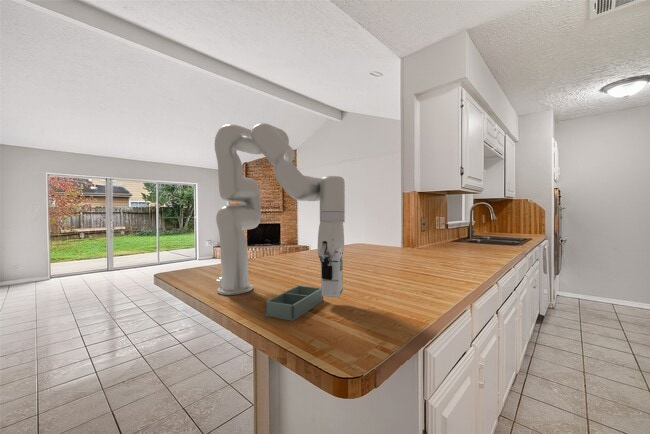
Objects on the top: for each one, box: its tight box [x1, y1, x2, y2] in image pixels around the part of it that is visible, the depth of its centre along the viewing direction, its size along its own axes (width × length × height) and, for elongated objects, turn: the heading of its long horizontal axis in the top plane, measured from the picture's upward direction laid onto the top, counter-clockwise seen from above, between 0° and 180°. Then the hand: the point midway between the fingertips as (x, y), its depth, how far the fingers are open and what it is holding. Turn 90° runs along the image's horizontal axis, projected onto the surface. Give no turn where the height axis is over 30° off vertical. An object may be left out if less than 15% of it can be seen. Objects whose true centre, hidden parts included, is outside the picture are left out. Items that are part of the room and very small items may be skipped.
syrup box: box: [320, 248, 344, 299], centre depth 85 cm, size 6×6×14 cm
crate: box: [264, 285, 324, 322], centre depth 84 cm, size 18×9×4 cm, turn 154°
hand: (332, 275), depth 85 cm, fingers closed on syrup box, 6 cm apart
